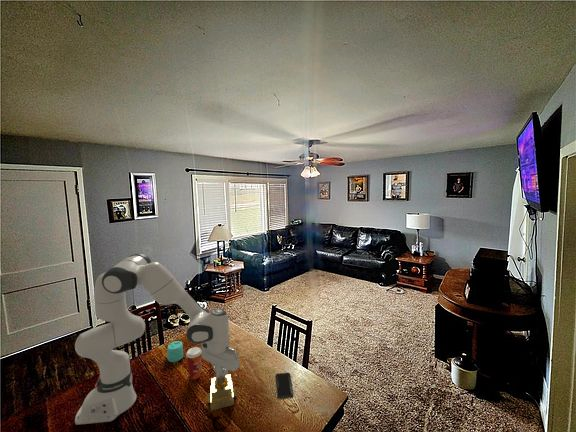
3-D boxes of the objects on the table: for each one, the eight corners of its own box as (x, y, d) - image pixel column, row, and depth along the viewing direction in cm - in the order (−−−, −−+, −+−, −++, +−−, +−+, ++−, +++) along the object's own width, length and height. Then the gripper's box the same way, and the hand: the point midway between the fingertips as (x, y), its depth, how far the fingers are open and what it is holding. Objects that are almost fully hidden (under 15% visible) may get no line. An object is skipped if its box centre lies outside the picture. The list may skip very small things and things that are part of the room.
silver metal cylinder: (214, 383, 114) (213, 364, 113) (218, 376, 118) (218, 358, 117) (223, 384, 113) (222, 365, 112) (227, 377, 117) (226, 359, 117)
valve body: (207, 411, 110) (206, 394, 109) (207, 394, 120) (207, 378, 119) (237, 403, 114) (236, 387, 113) (235, 387, 123) (234, 372, 123)
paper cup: (197, 382, 127) (196, 356, 126) (184, 379, 129) (183, 354, 128) (205, 371, 135) (204, 347, 134) (193, 369, 137) (191, 345, 135)
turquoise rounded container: (183, 360, 145) (182, 347, 144) (167, 363, 141) (167, 350, 141) (183, 352, 152) (182, 339, 151) (168, 355, 149) (167, 342, 148)
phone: (289, 372, 132) (293, 395, 117) (289, 374, 132) (293, 397, 118) (275, 373, 132) (276, 396, 117) (275, 375, 132) (276, 399, 117)
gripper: (242, 346, 112) (242, 375, 113) (208, 335, 122) (209, 361, 123) (232, 354, 107) (233, 384, 108) (198, 342, 116) (199, 369, 117)
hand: (220, 372), depth 115 cm, fingers closed on silver metal cylinder, 4 cm apart
